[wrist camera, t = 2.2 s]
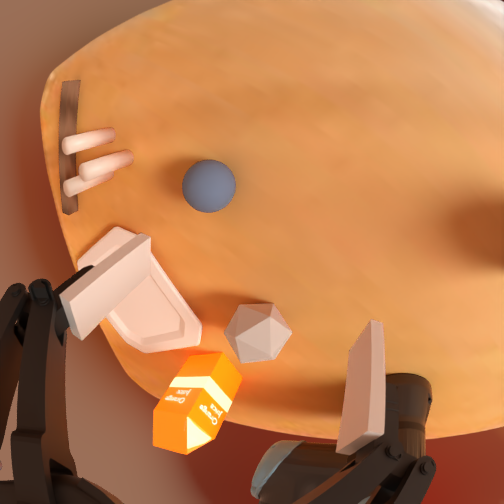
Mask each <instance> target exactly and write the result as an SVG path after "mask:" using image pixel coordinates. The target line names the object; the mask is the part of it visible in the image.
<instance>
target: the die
mask: <svg viewBox="0 0 504 504" xmlns="http://www.w3.org/2000/svg"><path fill="white" fill-rule="evenodd" d="M292 333H293V332H292V331H291V329H290V328H289V326H288V325H287V323H286V322H285V320H284V319H283V317H282V316H281V314H280V313H279V311H278V310H277V308H276V306H275V305H274V303H267V304H239V306H238V308H237V310H236V312H235V314H234V315H233V317H232V319H231V321H230V323H229V324H228V326H227V328H226V330H225V332H224V334H225V336H226V338H227V339H228V341H229V343H230V345H231V347H232V348H233V350H234V352H235V354H236V355H237V357H238V359H239V361H240V362H241V363H248V362H257V361H266V360H274V359H275V358H276V356H277V355H278V354H279V352H280V351H281V349H282V348H283V346H284V345H285V343H286V342H287V340H288V339H289V337H290V336H291V334H292Z"/></svg>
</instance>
